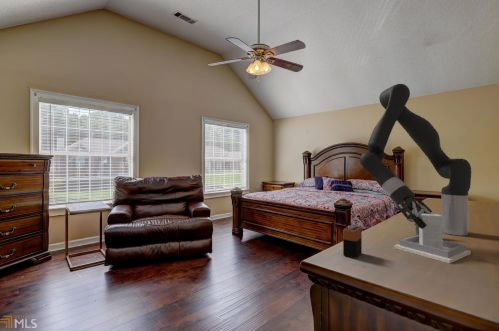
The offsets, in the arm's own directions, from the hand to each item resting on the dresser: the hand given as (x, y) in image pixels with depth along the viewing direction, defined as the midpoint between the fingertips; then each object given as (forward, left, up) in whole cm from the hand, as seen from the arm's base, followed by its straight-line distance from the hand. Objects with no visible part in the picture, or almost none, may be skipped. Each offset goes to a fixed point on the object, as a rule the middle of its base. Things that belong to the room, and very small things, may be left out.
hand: (430, 225), depth 89 cm
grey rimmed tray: (0, 0, -9) cm, 9 cm away
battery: (+27, -12, -9) cm, 31 cm away
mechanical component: (-16, -12, -9) cm, 22 cm away
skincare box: (0, 0, -8) cm, 8 cm away
